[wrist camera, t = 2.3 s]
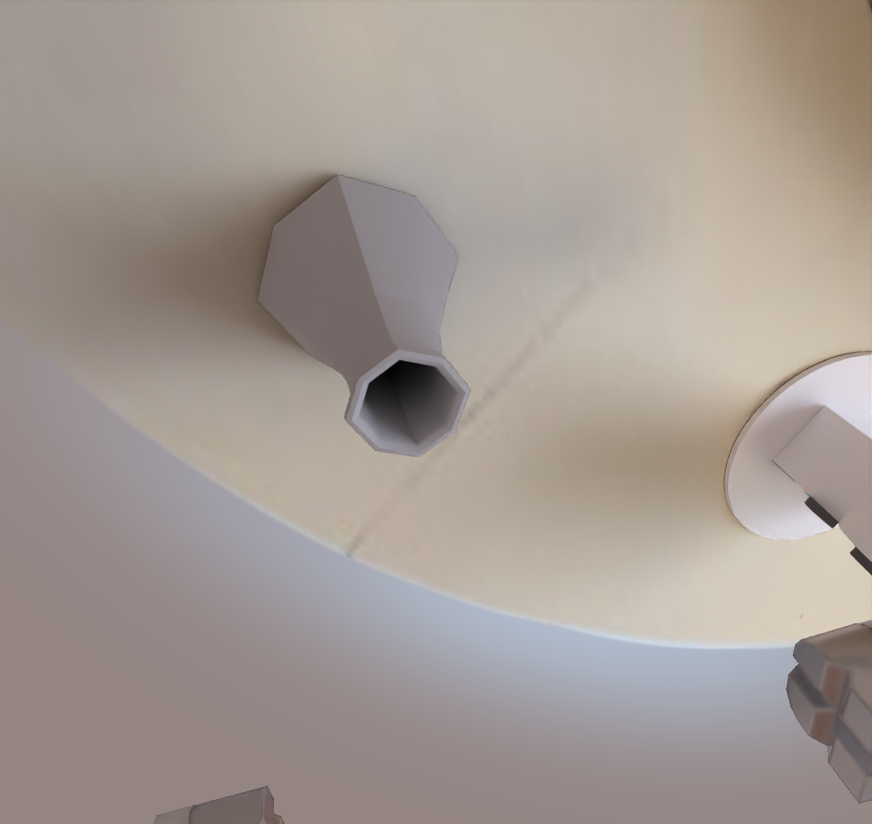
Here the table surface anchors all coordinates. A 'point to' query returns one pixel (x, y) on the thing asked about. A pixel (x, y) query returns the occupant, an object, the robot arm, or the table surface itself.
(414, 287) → the flask
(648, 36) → the table surface
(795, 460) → the panda figurine
